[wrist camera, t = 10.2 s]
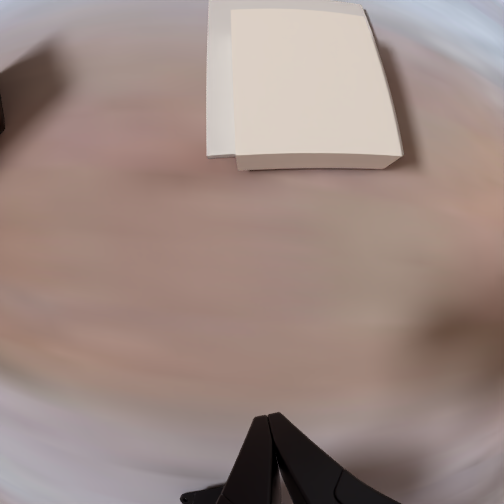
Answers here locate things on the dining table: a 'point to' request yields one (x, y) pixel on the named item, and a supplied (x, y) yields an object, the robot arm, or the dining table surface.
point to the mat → (220, 65)
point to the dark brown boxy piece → (1, 118)
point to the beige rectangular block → (309, 92)
